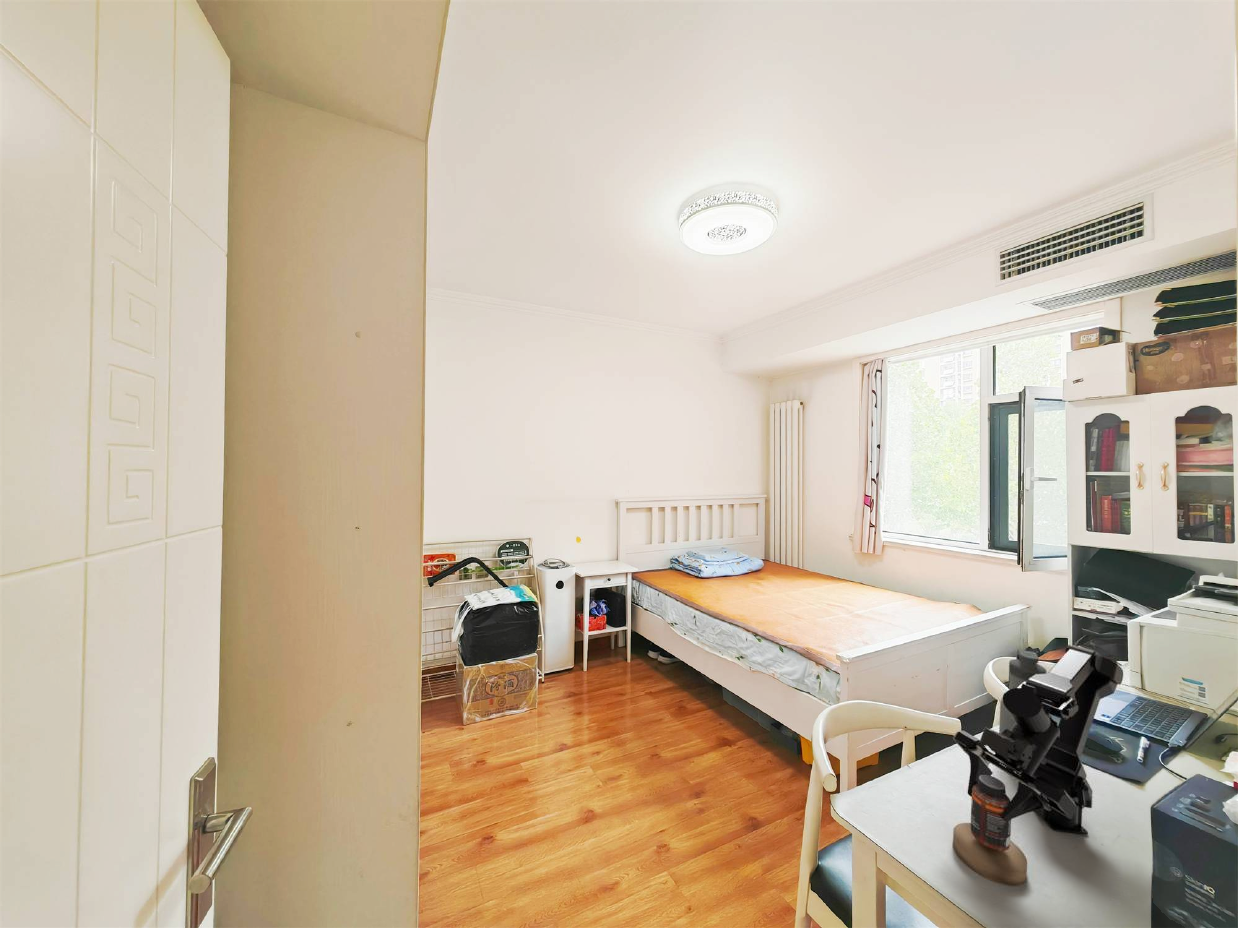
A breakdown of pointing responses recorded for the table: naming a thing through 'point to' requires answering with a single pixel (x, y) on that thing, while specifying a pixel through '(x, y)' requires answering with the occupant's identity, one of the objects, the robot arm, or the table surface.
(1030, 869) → the table surface
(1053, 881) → the table surface
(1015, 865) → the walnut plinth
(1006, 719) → the water bottle
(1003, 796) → the supplement bottle
